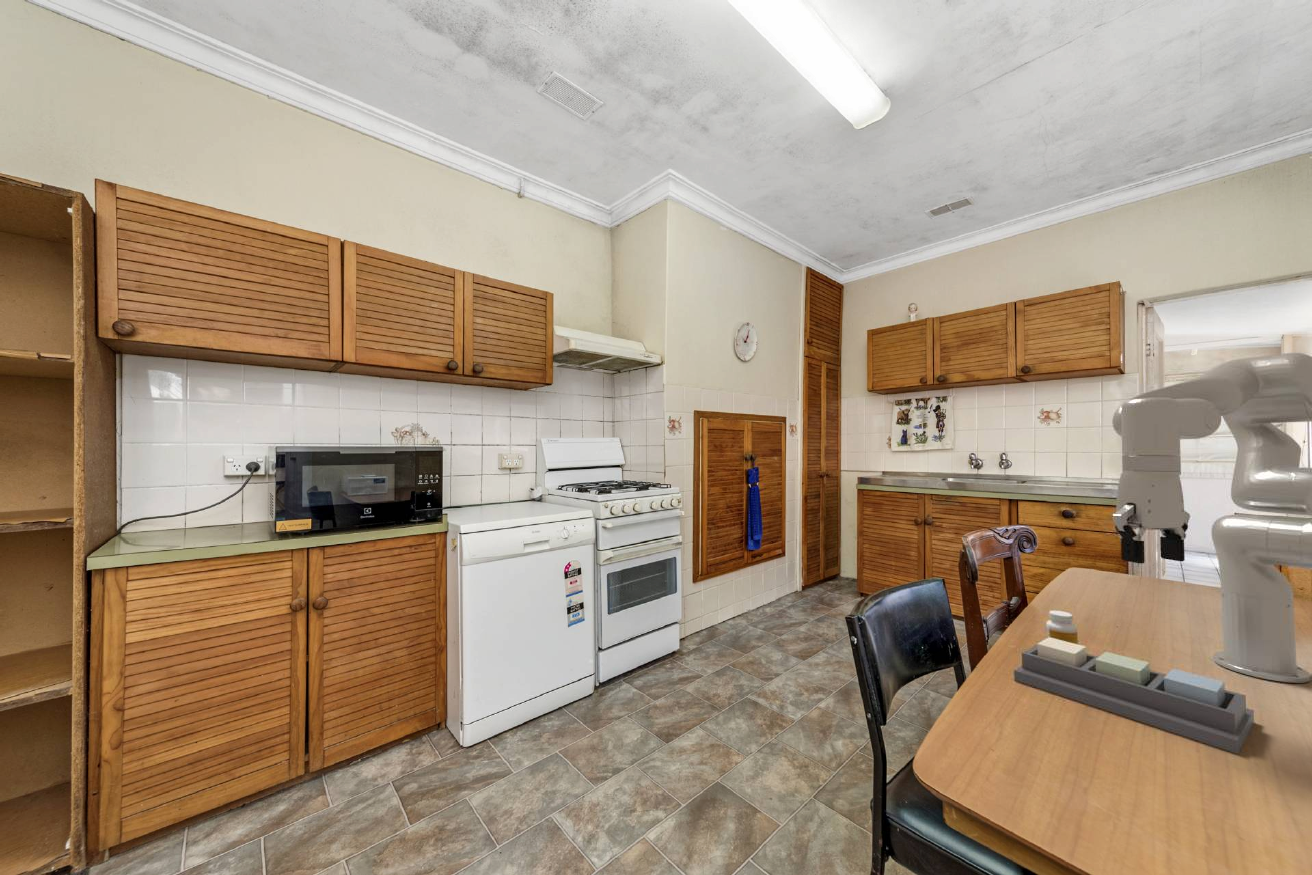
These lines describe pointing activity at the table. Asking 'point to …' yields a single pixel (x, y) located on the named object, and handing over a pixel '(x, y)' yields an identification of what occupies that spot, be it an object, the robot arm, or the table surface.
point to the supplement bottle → (1061, 627)
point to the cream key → (1062, 651)
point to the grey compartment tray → (1142, 700)
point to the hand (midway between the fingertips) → (1152, 560)
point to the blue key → (1195, 687)
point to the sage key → (1123, 668)
